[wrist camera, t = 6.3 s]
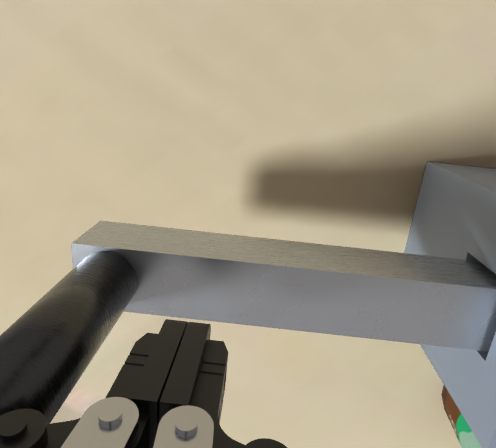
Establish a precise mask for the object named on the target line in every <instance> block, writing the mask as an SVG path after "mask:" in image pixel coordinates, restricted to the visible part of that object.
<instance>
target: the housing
mask: <svg viewBox="0 0 496 448" xmlns="http://www.w3.org/2000/svg"><path fill="white" fill-rule="evenodd" d="M405 253H407V254H417V255H426V256H435V257H445V258H454V259H464V260H473V261H480V262H481V263H482V264H484V265H485V266H486V267H487V268H488V269H490V270H491V271H492V272H493V273H495V274H496V169H493V168H483V167H474V166H464V165H454V164H445V163H435V162H427V164H426V168H425V172H424V176H423V180H422V184H421V188H420V192H419V196H418V200H417V204H416V208H415V212H414V216H413V220H412V224H411V228H410V232H409V236H408V240H407V244H406V249H405ZM420 345H421V347H422V349H423V350H424V352H425V354H426V355H427V357H428V359H429V360H430V362H431V364H432V365H433V367H434V369H435V370H436V372H437V374H438V375H439V377H440V379H441V380H442V382H443V384H444V385H445V387H446V389H447V390H448V392H449V394H450V395H451V397H452V399H453V400H454V402H455V404H456V405H457V407H458V409H459V410H460V412H461V414H462V415H463V417H464V419H465V420H466V422H467V424H468V425H469V427H470V429H471V430H472V432H473V434H474V435H475V437H476V438H477V440H478V442H479V443H480V445H481V447H482V448H496V332H495V335H494V338H493V341H492V344H491V346H490V349H489V352H488V351H479V350H470V349H461V348H452V347H443V346H434V345H425V344H420Z"/></svg>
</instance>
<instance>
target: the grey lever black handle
mask: <svg viewBox="0 0 496 448" xmlns="http://www.w3.org/2000/svg"><path fill="white" fill-rule="evenodd" d="M71 245H72V262H73V270H72V271H71V272H69V273H68V274H67V275H66V276H65V277H64V278H63V279H62V280H61V281H60V282H58V283H57V284H56V285H55V286H54V287H53V288H52V289H51V290H50V291H49V292H48V293H46V294H45V295H44V296H43V297H42V298H41V299H40V300H39V301H38V302H37V303H36V304H34V305H33V306H32V307H31V308H30V309H29V310H28V311H27V312H26V313H25V314H23V315H22V316H21V317H20V318H19V319H18V320H17V321H16V322H15V323H14V324H13V325H11V326H10V327H9V328H8V329H7V330H6V331H5V332H4V333H3V334H2V335H1V336H0V416H1V415H3V414H5V413H7V412H10V411H13V410H18V409H34V410H37V411H39V412H41V413H42V414H43V415H44V416H45V418H46V424H50V422H51V421H52V419H53V418H54V416H55V415H56V413H57V412H58V410H59V409H60V407H61V406H62V404H63V403H64V401H65V400H66V398H67V397H68V395H69V393H70V392H71V390H72V389H73V387H74V386H75V384H76V383H77V381H78V380H79V378H80V377H81V375H82V374H83V372H84V371H85V369H86V368H87V366H88V364H89V363H90V361H91V360H92V358H93V357H94V355H95V354H96V352H97V351H98V349H99V348H100V346H101V345H102V343H103V342H104V340H105V339H106V337H107V336H108V334H109V332H110V331H111V329H112V328H113V326H114V325H115V323H116V322H117V320H118V319H119V317H120V316H121V314H122V313H123V311H125V312H134V313H143V314H152V315H161V316H170V317H179V318H189V319H198V320H207V321H216V322H225V323H234V324H243V325H252V326H261V327H270V328H279V329H288V330H298V331H307V332H316V333H325V334H334V335H343V336H352V337H361V338H370V339H379V340H388V341H397V342H407V343H416V344H425V345H434V346H443V347H452V348H461V349H470V350H479V351H488V352H489V349H490V346H491V344H492V341H493V338H494V335H495V332H496V274H495V273H493V272H492V271H491V270H490V269H488V268H487V267H486V266H485V265H484V264H482V263H481V262H480V261H473V260H464V259H454V258H445V257H435V256H426V255H417V254H407V253H398V252H389V251H379V250H370V249H361V248H351V247H342V246H332V245H323V244H314V243H304V242H295V241H286V240H276V239H267V238H257V237H248V236H239V235H229V234H220V233H211V232H201V231H192V230H183V229H173V228H164V227H154V226H145V225H136V224H126V223H117V222H108V221H100V222H98V223H97V224H96V225H94V226H93V227H92V228H91V229H89V230H88V231H87V232H85V233H84V234H83V235H82V236H80V237H79V238H78V239H76V240H75V241H74V242H73V243H71Z"/></svg>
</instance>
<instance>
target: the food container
mask: <svg viewBox="0 0 496 448" xmlns="http://www.w3.org/2000/svg"><path fill="white" fill-rule="evenodd" d="M442 399H443V404H444V409H445V411H446V414H447V416H448V418H449V420H450V422H451V425H452V427H453V429H454V431H455V433H456V436H457V438H458V440H459V442H460V444H461V447H462V448H482V447H481V445H480V443H479V442H478V440H477V438H476V437H475V435H474V434H473V432H472V430H471V429H470V427H469V425H468V424H467V422H466V420H465V419H464V417H463V415H462V414H461V412H460V410H459V409H458V407H457V405H456V404H455V402H454V400H453V399H452V397H451V395H450V394H449V392H448V390H447V389H446V387H445V385H444V386H443V390H442Z"/></svg>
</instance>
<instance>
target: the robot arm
mask: <svg viewBox="0 0 496 448" xmlns="http://www.w3.org/2000/svg"><path fill="white" fill-rule="evenodd" d="M210 331H211V325H210V324H203V323H194V322H189V323H188V322H185V321H176V320H167V319H166V320H165V322H164V324H163V326H162V328H161V330H160V332H159V334H153V333H147V334H145V335H144V336H143V337H142V338H140V339H139V340H138V341H136V343H135V345H134V346H133V348H132V350H131V352H130V355H129V356H128V358H127V359H126V361H125V365H123V367H122V369H121V370H120V372H119V374H118V376H117V378H116V380H115V382H114V383H113V385H112V387H111V389H110V391H109V393H108V394H107V396H106V398H105V399H102V400H100V401H98V402H96V403H94V404H93V405H91V406H90V407H89V408H88V409H87V410H86V411H85V413H84V414H83V416H82V417H81V418H79V419H76V420H72V421H66V422H59V423H53V424H46V418H45V416H44V415H43V414H42V413H41V412H39V411H37V410H34V409H18V410H13V411H10V412H7V413H5V414H3V415H1V416H0V448H287V447H286V446H285V445H283V444H282V443H280V442H278V441H275V440H272V439H257V440H253V441H251V442H249V443H248V444H246V445H244V444H241V443H239V442H237V441H235V440H233V439H231V438H230V437H229V436H227V435H226V434H225V433H224V431H223V430H222V429H221V427H220V425H219V423H220V416H221V410H222V403H223V397H224V391H225V382H226V371H227V360H228V351H227V348H226V346H225V344H224V342H223V341H215V340H210Z"/></svg>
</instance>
